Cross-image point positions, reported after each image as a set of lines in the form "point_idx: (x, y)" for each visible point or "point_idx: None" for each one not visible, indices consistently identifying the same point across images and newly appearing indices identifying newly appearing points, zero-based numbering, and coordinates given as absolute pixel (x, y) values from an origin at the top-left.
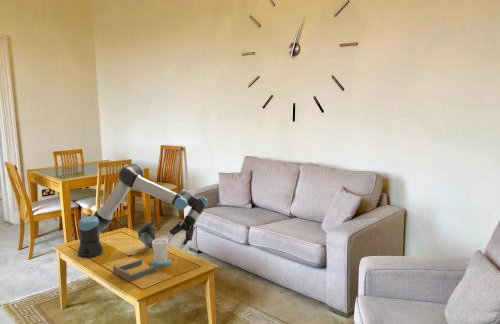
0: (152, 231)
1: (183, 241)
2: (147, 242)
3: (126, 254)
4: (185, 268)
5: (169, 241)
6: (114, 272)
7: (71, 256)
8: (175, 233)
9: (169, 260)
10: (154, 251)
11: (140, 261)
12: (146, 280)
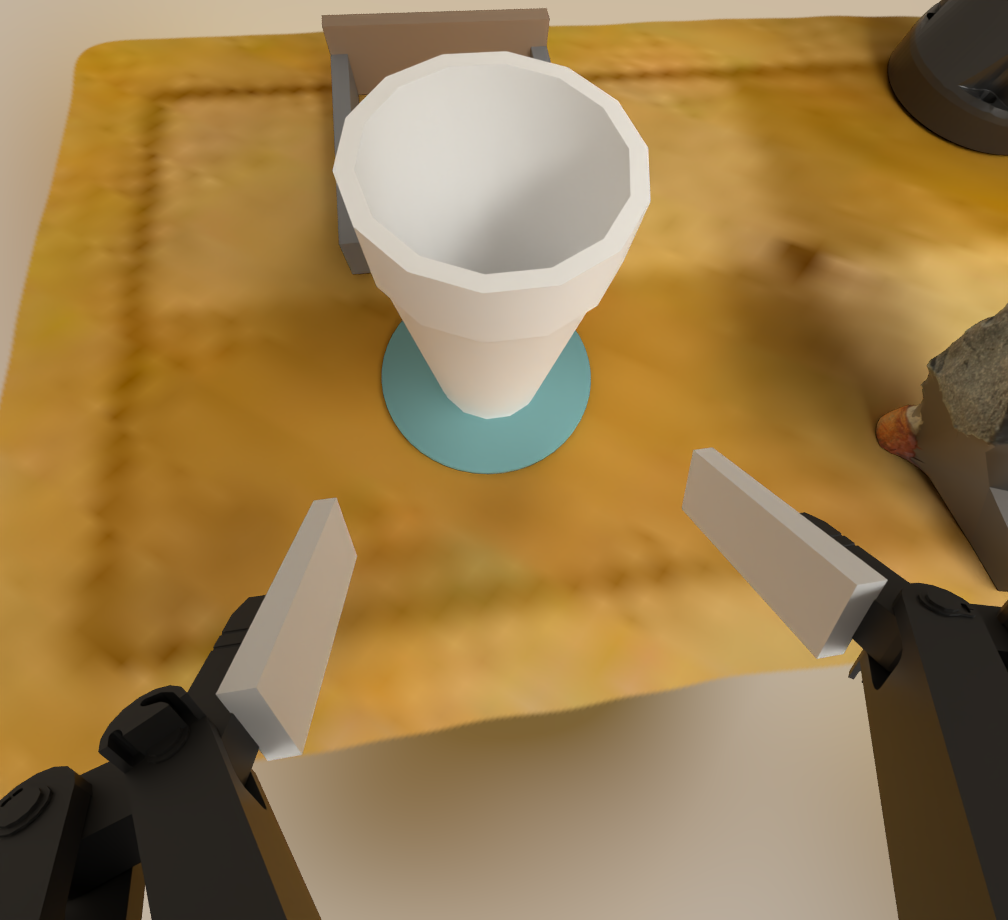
0: None
1: (256, 617)
2: (942, 360)
3: (839, 247)
4: (186, 486)
5: (715, 524)
6: None
7: None
8: (877, 721)
9: (466, 451)
10: (484, 208)
11: None
12: (256, 158)
